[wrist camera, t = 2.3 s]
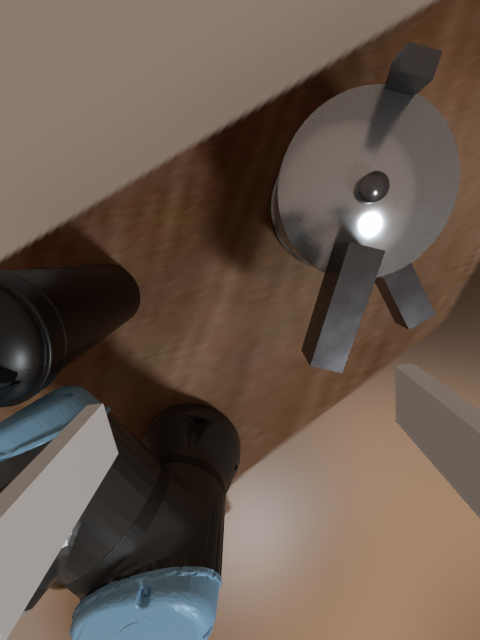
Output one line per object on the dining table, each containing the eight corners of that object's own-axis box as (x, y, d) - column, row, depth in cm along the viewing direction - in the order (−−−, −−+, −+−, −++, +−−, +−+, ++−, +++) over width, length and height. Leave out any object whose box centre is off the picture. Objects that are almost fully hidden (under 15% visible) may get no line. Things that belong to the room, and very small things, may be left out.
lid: (308, 50, 24) (325, -2, 19) (487, 99, 24) (550, 61, 19) (240, 332, 30) (239, 350, 25) (383, 364, 31) (410, 388, 26)
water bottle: (106, 240, 37) (-105, 233, 14) (161, 298, 39) (50, 370, 16) (57, 291, 39) (-198, 353, 16) (112, 344, 40) (-49, 465, 18)
